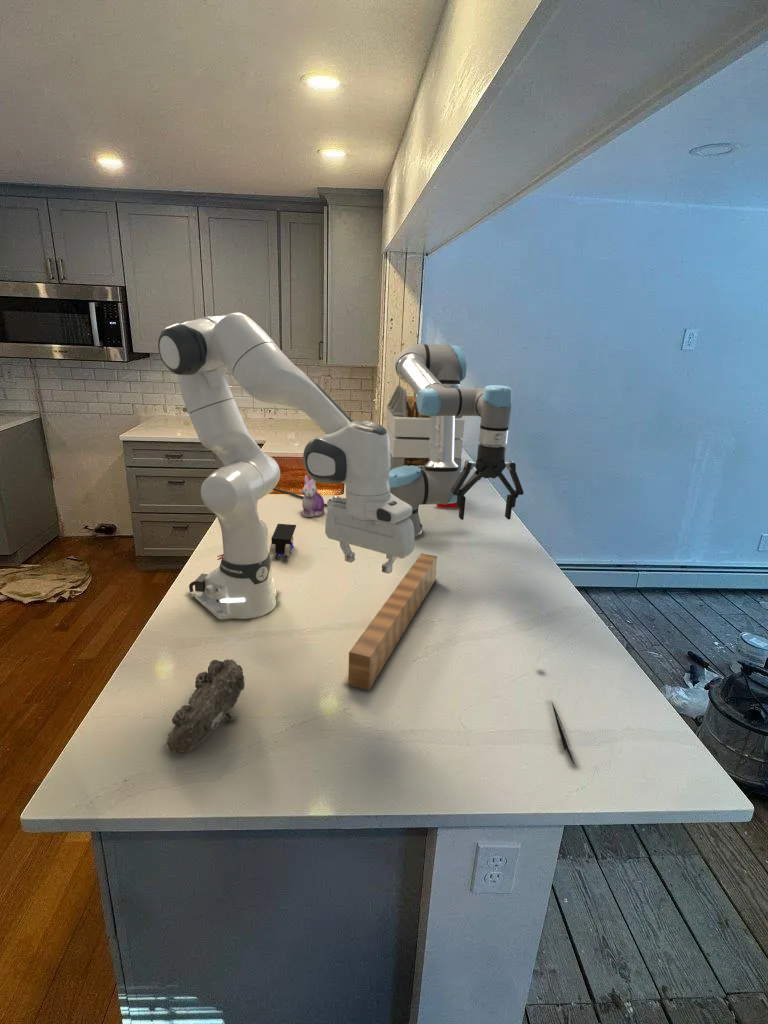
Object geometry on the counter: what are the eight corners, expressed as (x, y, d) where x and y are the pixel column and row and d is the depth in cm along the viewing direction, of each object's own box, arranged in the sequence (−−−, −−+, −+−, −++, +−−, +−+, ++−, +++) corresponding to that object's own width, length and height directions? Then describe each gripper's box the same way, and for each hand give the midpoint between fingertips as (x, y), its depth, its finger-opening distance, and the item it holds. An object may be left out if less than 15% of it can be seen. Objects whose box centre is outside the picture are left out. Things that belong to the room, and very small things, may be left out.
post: (419, 577, 168) (421, 553, 165) (435, 580, 167) (437, 556, 164) (348, 684, 119) (348, 652, 116) (368, 690, 118) (370, 657, 115)
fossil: (192, 660, 117) (244, 628, 112) (224, 691, 120) (276, 661, 115) (142, 746, 98) (202, 712, 93) (182, 779, 101) (242, 748, 96)
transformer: (382, 463, 289) (386, 382, 275) (445, 464, 293) (451, 384, 279) (390, 482, 257) (394, 392, 243) (460, 483, 261) (468, 394, 247)
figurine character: (291, 566, 174) (297, 542, 188) (290, 545, 171) (296, 522, 184) (269, 566, 174) (276, 541, 187) (268, 544, 171) (275, 521, 184)
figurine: (305, 519, 209) (305, 480, 204) (296, 510, 217) (296, 472, 212) (329, 516, 213) (330, 478, 208) (319, 507, 222) (319, 470, 216)
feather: (541, 676, 126) (546, 670, 126) (574, 768, 100) (581, 761, 99) (535, 672, 126) (540, 666, 126) (566, 764, 100) (573, 756, 99)
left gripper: (317, 498, 116) (319, 559, 121) (402, 517, 106) (401, 584, 110) (336, 490, 121) (337, 550, 126) (419, 508, 110) (417, 573, 115)
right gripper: (450, 447, 148) (444, 522, 155) (541, 448, 151) (531, 522, 158) (444, 440, 155) (438, 513, 162) (531, 441, 158) (521, 513, 165)
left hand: (368, 566), depth 118 cm, fingers open, 8 cm apart
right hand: (484, 518), depth 160 cm, fingers open, 13 cm apart
